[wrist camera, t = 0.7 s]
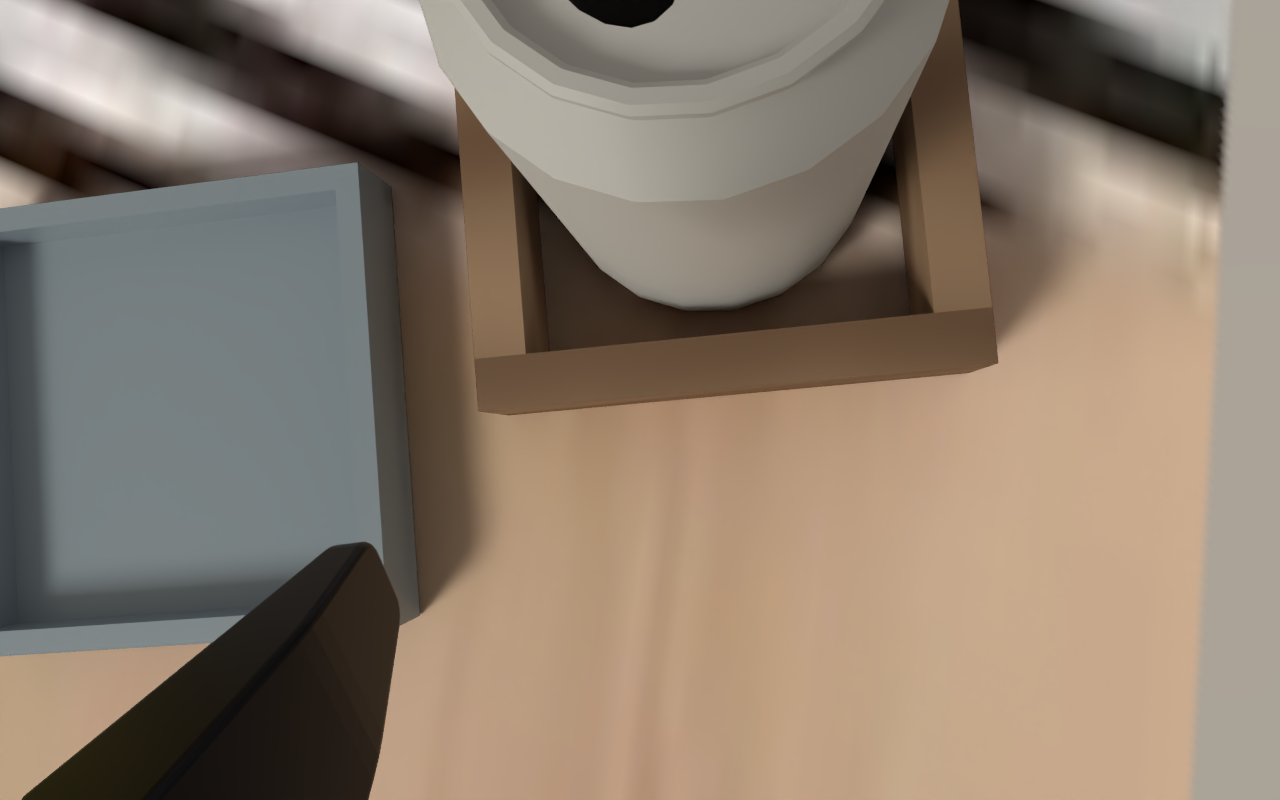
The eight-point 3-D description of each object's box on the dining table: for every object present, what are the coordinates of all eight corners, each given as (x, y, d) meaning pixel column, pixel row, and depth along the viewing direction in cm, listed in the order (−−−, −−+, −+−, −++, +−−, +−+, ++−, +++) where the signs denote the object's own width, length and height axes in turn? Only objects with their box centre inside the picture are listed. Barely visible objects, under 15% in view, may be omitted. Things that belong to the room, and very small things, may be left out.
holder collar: (968, 372, 21) (998, 362, 18) (508, 415, 22) (478, 410, 20) (918, -82, 22) (940, -151, 19) (476, -15, 23) (443, -71, 20)
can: (517, 115, 23) (263, -250, 11) (775, -28, 22) (808, -585, 10) (645, 370, 22) (525, 279, 10) (917, 229, 21) (1134, -48, 9)
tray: (420, 615, 22) (388, 631, 20) (23, 641, 24) (-43, 659, 22) (391, 186, 23) (357, 162, 21) (7, 234, 24) (-58, 215, 22)
